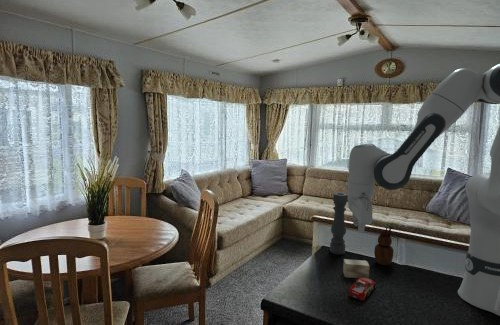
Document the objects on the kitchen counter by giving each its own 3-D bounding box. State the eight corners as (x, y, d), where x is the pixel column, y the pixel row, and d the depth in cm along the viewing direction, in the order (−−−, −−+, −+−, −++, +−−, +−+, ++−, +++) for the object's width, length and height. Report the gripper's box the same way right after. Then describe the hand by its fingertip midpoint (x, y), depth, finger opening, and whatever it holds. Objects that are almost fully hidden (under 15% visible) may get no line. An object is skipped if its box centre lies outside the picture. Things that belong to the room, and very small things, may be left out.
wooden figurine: (392, 262, 121) (395, 225, 119) (392, 268, 115) (395, 230, 114) (374, 259, 123) (376, 223, 122) (373, 264, 118) (376, 227, 116)
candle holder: (327, 251, 130) (330, 194, 127) (333, 247, 134) (336, 191, 132) (341, 255, 126) (344, 196, 123) (347, 251, 130) (350, 194, 128)
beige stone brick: (365, 273, 111) (366, 260, 110) (368, 279, 107) (369, 265, 106) (343, 272, 112) (343, 259, 111) (345, 277, 108) (345, 264, 107)
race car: (361, 281, 105) (361, 270, 105) (377, 287, 102) (378, 276, 102) (345, 297, 96) (346, 285, 95) (362, 304, 92) (363, 291, 92)
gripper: (378, 197, 95) (376, 240, 97) (362, 185, 116) (360, 220, 117) (358, 196, 96) (355, 238, 98) (345, 184, 116) (343, 219, 118)
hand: (358, 228), depth 108 cm, fingers open, 6 cm apart
